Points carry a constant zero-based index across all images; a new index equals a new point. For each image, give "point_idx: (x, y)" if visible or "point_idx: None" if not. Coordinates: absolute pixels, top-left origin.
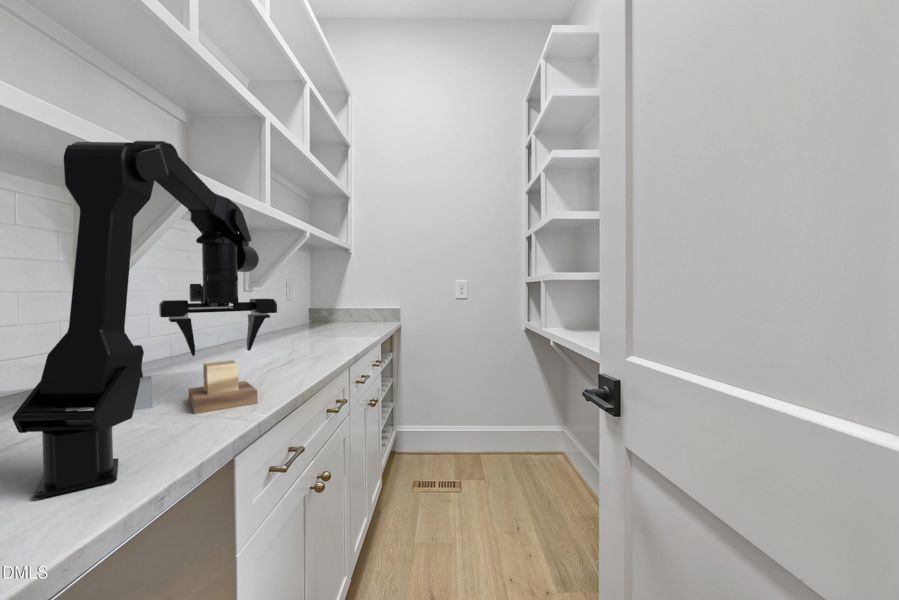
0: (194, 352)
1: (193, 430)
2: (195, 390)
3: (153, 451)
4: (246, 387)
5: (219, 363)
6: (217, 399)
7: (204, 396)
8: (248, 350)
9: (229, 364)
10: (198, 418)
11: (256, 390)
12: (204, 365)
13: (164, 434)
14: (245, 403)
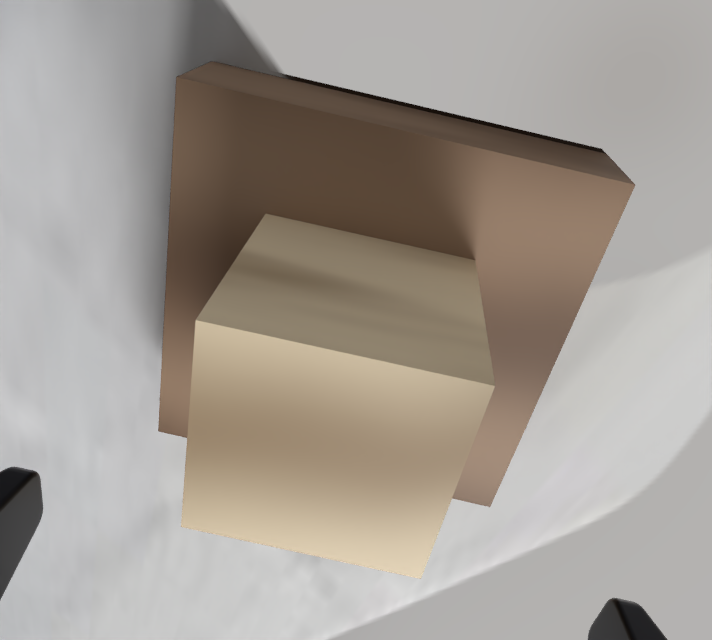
0: (18, 554)
1: (148, 557)
2: (210, 194)
3: (35, 618)
4: (496, 396)
5: (313, 455)
6: None
7: None
8: (591, 633)
9: (358, 552)
10: None
11: (489, 501)
12: (194, 385)
13: (61, 525)
14: None
